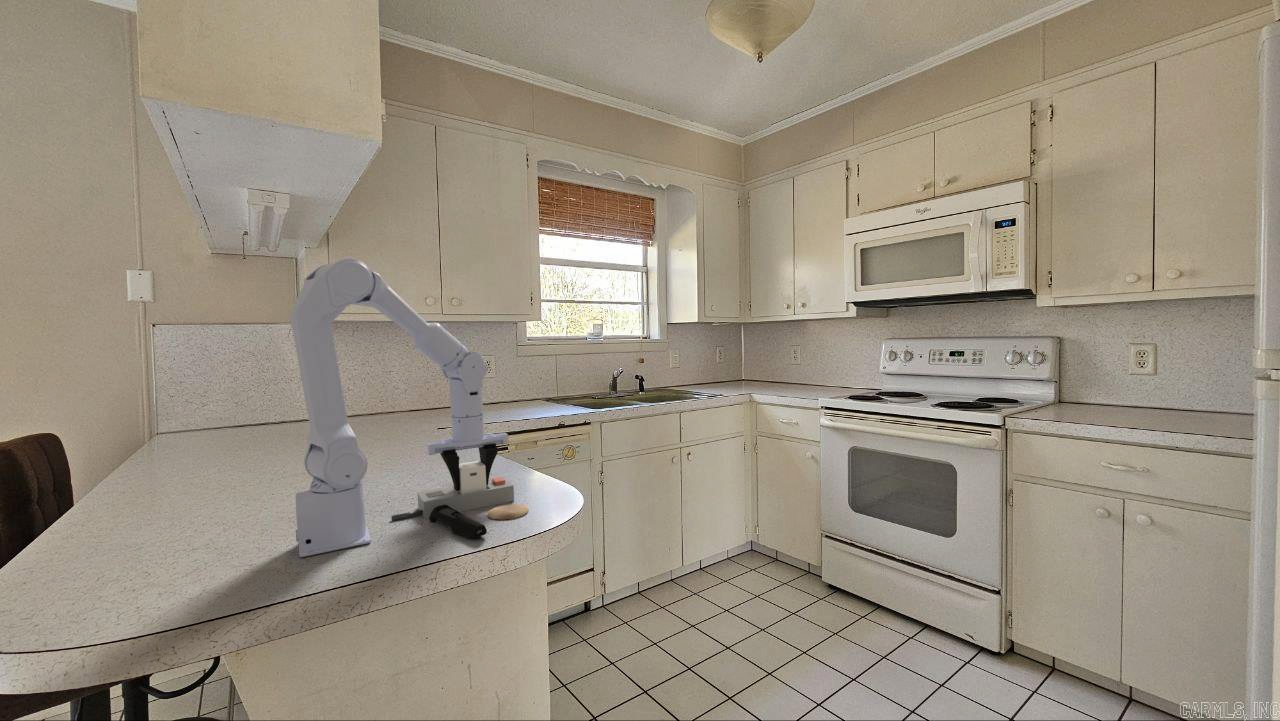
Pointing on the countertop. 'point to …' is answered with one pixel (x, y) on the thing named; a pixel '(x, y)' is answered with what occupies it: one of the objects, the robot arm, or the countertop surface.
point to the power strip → (461, 498)
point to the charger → (472, 477)
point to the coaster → (508, 511)
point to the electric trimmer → (457, 522)
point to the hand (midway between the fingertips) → (471, 486)
